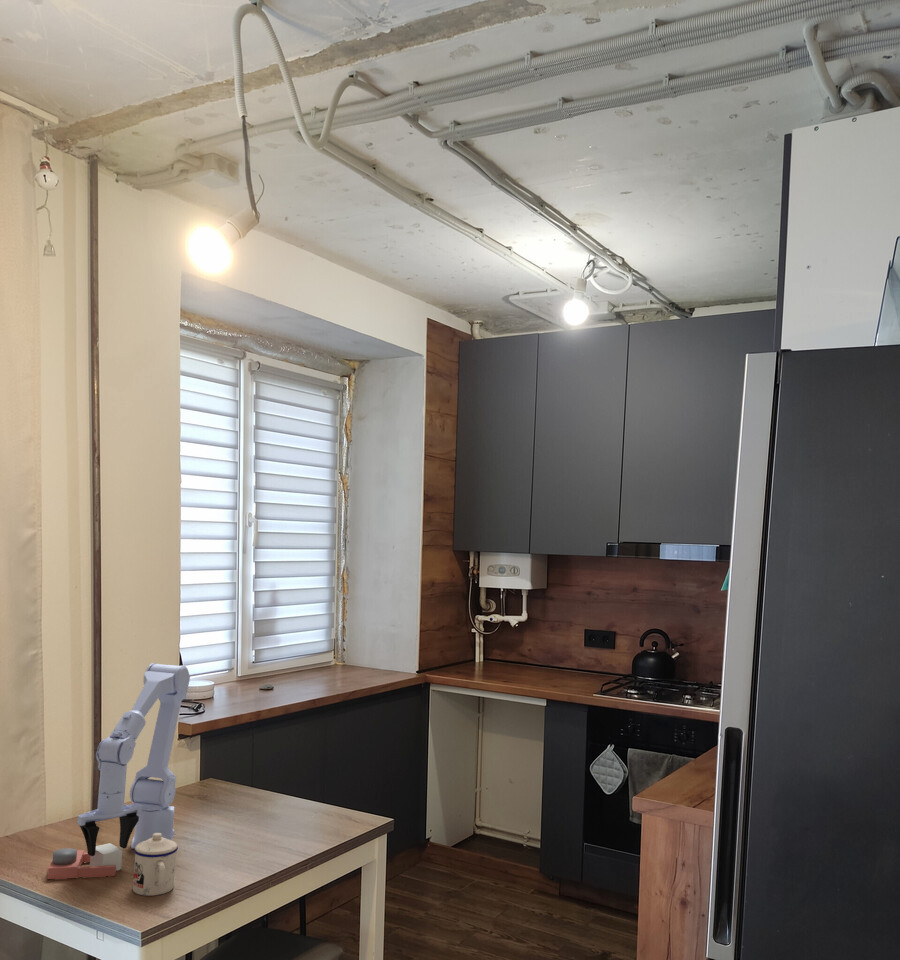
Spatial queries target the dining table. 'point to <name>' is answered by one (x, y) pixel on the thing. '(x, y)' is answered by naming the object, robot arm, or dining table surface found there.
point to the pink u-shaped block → (76, 865)
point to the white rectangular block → (107, 856)
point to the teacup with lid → (154, 866)
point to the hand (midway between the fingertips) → (107, 850)
